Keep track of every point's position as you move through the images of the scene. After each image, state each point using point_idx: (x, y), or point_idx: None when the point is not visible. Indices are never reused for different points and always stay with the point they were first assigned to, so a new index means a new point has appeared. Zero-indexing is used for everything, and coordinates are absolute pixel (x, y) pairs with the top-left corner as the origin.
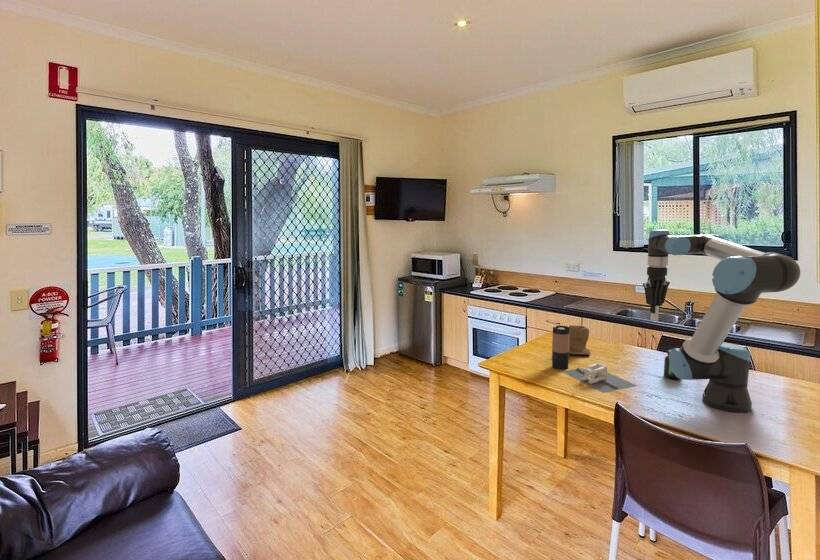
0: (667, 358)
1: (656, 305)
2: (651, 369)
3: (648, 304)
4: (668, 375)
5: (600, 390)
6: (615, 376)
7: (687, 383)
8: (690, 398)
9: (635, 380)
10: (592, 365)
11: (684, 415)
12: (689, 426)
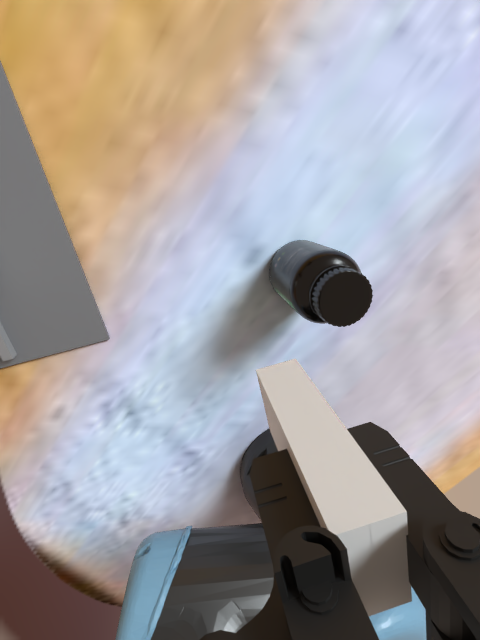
0: (297, 293)
1: (397, 573)
2: (279, 168)
3: (280, 546)
4: (274, 287)
5: None
6: (62, 233)
7: (305, 329)
8: (226, 432)
9: (136, 278)
10: None
11: (136, 518)
12: (111, 563)
